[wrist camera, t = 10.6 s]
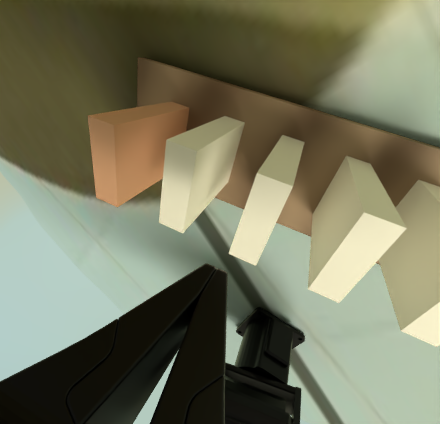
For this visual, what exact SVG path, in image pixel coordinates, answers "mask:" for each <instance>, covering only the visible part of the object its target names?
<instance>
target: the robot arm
mask: <svg viewBox="0 0 440 424" xmlns="http://www.w3.org/2000/svg"><path fill="white" fill-rule="evenodd" d="M227 279H228V274H227V272H226V271H223V270H221V269H219V268H218V269H216V267H214V266H212V265H210V264H204V265H202V266H201V267H199V268H198V269H196V270H194V271H193V272H191V273H190V274H188V275H186V276H185V277H183V278H182V279H180V280H178V281H177V282H175V283H174V284H172V285H170V286H169V287H167V288H166V289H164V290H162V291H161V292H159V293H158V294H156V295H154V296H153V297H151V298H150V299H148V300H146V301H145V302H143V303H142V304H140V305H138V306H137V307H135V308H134V309H132V310H130V311H129V312H127V313H126V314H124V315H122V316H121V317H119V319H116V320H114V321H113V322H111V323H109V324H108V325H106V326H105V327H103V328H101V329H100V330H98V331H96V332H94V333H93V334H91V335H89V336H88V337H86V338H85V339H83V340H80V341H79V342H77V343H75V344H73V345H71V346H69V347H67V348H65V349H64V350H62V351H60V352H58V353H56V354H54V355H52V356H50V357H48V358H46V359H44V360H42V361H40V362H38V363H36V364H34V365H32V366H30V367H28V368H26V369H24V370H22V371H20V372H18V373H16V374H14V375H12V376H10V377H9V378H7V379H4V380H2V381H0V424H133V422H134V421H135V419H136V417H137V416H138V414H139V413H140V411H141V409H142V408H143V406H144V405H145V403H146V401H147V400H148V398H149V396H150V395H151V393H152V392H153V390H154V388H155V387H156V385H157V384H158V382H159V380H160V379H161V377H162V375H163V374H164V372H165V370H166V369H167V367H168V366H169V364H170V363H171V361H172V359H173V358H174V356H175V354H176V353H177V351H178V350H179V351H178V353H177V356H176V358H175V361H174V363H173V366H172V369H171V371H170V374H169V376H168V379H167V381H166V384H165V386H164V389H163V392H162V394H161V397H160V399H159V402H158V404H157V407H156V409H155V412H154V414H153V417H152V420H151V422H150V424H300V407H301V388H298V387H292V386H290V385H287V383H288V374H289V366H290V360H291V351H292V349H293V348H295V347H296V346H298V345H299V344H301V343H302V342H304V341H305V336H304V335H303V334H302V333H300V332H298V331H297V330H295V329H294V328H292V327H290V326H289V325H287V324H286V323H284V322H282V321H281V320H279V319H278V318H276V317H274V316H273V315H271V314H270V313H268V312H266V311H265V310H263V309H261V308H257V309H256V310H255V311H254V312H253V313H252V314H250V315H249V316H248V317H247V318H246V319H245V320H244V321H243V322H242V323H241V324H240V325H239V326H238V327H237V330H236V332H237V333H238V334H239V335H241V336H243V339H242V342H241V346H240V349H239V352H238V356H237V359H236V362H235V366H234V365H231V364H228V363H225V354H226V316H227ZM290 415H292V417H291V416H290Z"/></svg>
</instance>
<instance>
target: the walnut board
mask: <svg viewBox="0 0 440 424" xmlns="http://www.w3.org/2000/svg"><path fill="white" fill-rule="evenodd" d="M166 102H174V103H177V104H180V105H183V106H186V107H189V115H188V122H187V129H186V132H187V131H189V130H191V129H194V128H196V127H199V126H201V125H204V124H206V123H209V122H211V121H214V120H216V119H219V118H221V117H223V116H227V117H230V118H233V119H236V120H239V121H242V122H245V124H244V128H243V131H242V135H241V138H240V142H239V145H238V149H237V153H236V156H235V160H234V163H233V167H232V171H231V174H230V178H229V181H228V183H227V184H226V185H225V186H224V187H223V189H222V190H221V191H220V192H219V193H218V194H217V195H216V196H215V198H217V199H220V200H222V201H225V202H227V203H230V204H232V205H235V206H237V207H239V208H242V209H244V208H245V206H246V203H247V200H248V197H249V194H250V191H251V189H252V186H253V183H254V180H255V177H256V174H257V172H258V171H259V169H260V168H261V166H262V165H263V163H264V162H265V160H266V159H267V157H268V156H269V154H270V153H271V151H272V150H273V148H274V147H275V145H276V144H277V142H278V141H279V139H280V138H281V136H282V135H285V136H288V137H291V138H294V139H297V140H300V141H303V142H304V146H303V150H302V154H301V158H300V162H299V165H298V169H297V173H296V177H295V181H294V185H293V188H292V190H291V192H290V194H289V196H288V198H287V200H286V203H285V205H284V207H283V209H282V211H281V213H280V215H279V218H278V220H277V222H276V223H279V224H281V225H284V226H286V227H289V228H291V229H293V230H296V231H298V232H301V233H303V234H306V235H308V236H311V233H312V217H313V213H314V211H315V209H316V208H317V206H318V204H319V202H320V201H321V199H322V197H323V195H324V194H325V192H326V190H327V188H328V187H329V185H330V183H331V181H332V180H333V178H334V176H335V174H336V173H337V171H338V169H339V167H340V166H341V164H342V162H343V160H344V159H345V157H346V156H349V157H352V158H355V159H358V160H361V161H364V162H367V163H370V164H371V166H372V167H373V169H374V171H375V173H376V174H377V176H378V178H379V180H380V181H381V183H382V185H383V187H384V189H385V190H386V192H387V194H388V196H389V197H390V199H391V201H392V203H393V204H394V206H395V208H396V206H397V205H398V204H399V203H400V201H401V200H402V199H403V198H404V197H405V195H406V194H407V193H408V192H409V190H410V189H411V188H412V187H413V186H414V184H415V183H416V182H417V181H418V180H421V181H424V182H427V183H430V184H433V185H436V186H439V187H440V148H439V147H436V146H433V145H430V144H426V143H423V142H420V141H417V140H413V139H410V138H407V137H403V136H400V135H397V134H394V133H390V132H387V131H384V130H381V129H377V128H374V127H371V126H367V125H364V124H361V123H358V122H354V121H351V120H348V119H345V118H341V117H338V116H335V115H331V114H328V113H325V112H322V111H318V110H315V109H312V108H308V107H305V106H302V105H299V104H295V103H292V102H289V101H286V100H282V99H279V98H276V97H272V96H269V95H266V94H263V93H259V92H256V91H253V90H250V89H246V88H243V87H240V86H236V85H233V84H230V83H227V82H223V81H220V80H217V79H214V78H210V77H207V76H204V75H200V74H197V73H194V72H191V71H187V70H184V69H181V68H178V67H174V66H171V65H168V64H164V63H161V62H158V61H155V60H151V59H148V58H143V57H138V79H137V107H142V106H148V105H154V104H160V103H166ZM376 263H377V264H379V265H380V262H379V260H378V261H377V262H376Z"/></svg>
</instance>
